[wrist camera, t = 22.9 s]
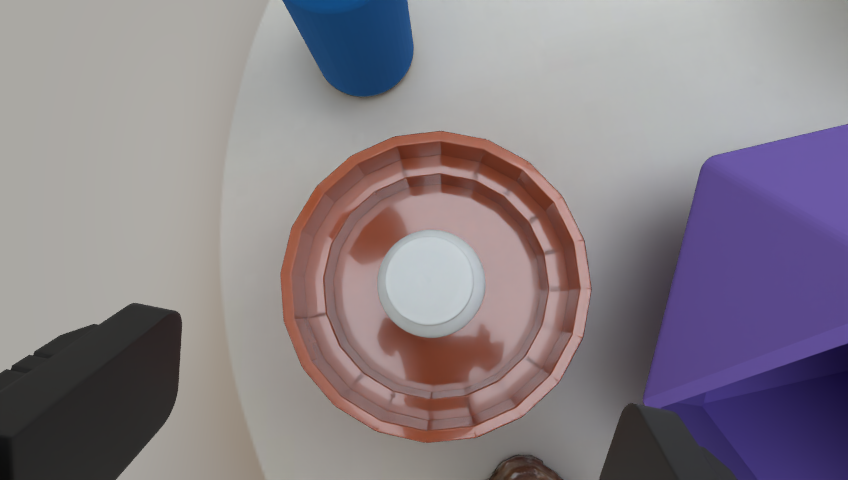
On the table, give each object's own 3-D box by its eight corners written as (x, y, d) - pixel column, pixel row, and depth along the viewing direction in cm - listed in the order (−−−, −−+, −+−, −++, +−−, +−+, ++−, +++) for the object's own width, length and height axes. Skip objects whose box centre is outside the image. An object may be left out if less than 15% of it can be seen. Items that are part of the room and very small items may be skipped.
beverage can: (381, -7, 37) (349, -158, 25) (432, 67, 36) (424, -52, 24) (302, 43, 36) (230, -85, 25) (351, 119, 36) (301, 24, 24)
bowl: (321, 429, 33) (292, 456, 27) (301, 177, 35) (271, 150, 29) (582, 403, 33) (612, 424, 27) (546, 148, 35) (566, 115, 29)
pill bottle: (494, 272, 33) (512, 256, 23) (451, 348, 33) (452, 364, 23) (419, 229, 34) (406, 197, 24) (376, 304, 33) (345, 302, 23)
